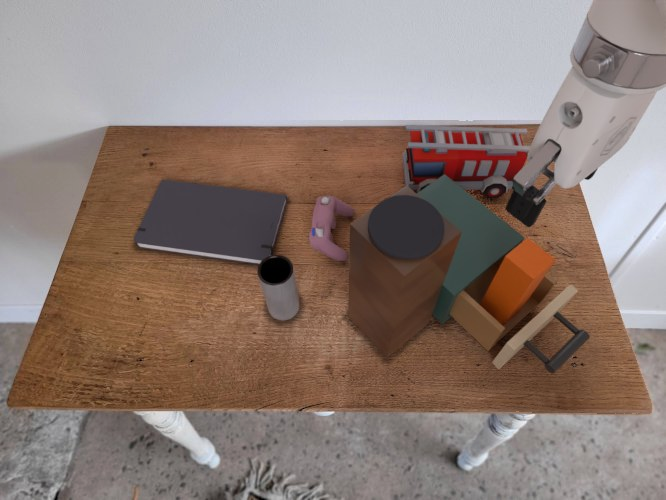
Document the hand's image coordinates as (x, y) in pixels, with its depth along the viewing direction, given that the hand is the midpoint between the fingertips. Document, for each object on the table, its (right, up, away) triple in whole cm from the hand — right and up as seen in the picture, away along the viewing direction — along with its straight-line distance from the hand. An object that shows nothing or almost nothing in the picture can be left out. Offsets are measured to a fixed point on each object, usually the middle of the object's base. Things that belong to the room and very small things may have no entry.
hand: (548, 193), depth 51 cm
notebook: (-42, -2, +26) cm, 49 cm away
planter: (-30, -14, +18) cm, 38 cm away
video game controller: (-23, -4, +25) cm, 34 cm away
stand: (-15, -16, +17) cm, 27 cm away
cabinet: (-7, -8, +21) cm, 24 cm away
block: (0, -14, +15) cm, 20 cm away
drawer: (+1, -15, +15) cm, 22 cm away
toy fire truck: (-2, +6, +30) cm, 31 cm away
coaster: (-15, -4, -2) cm, 16 cm away
